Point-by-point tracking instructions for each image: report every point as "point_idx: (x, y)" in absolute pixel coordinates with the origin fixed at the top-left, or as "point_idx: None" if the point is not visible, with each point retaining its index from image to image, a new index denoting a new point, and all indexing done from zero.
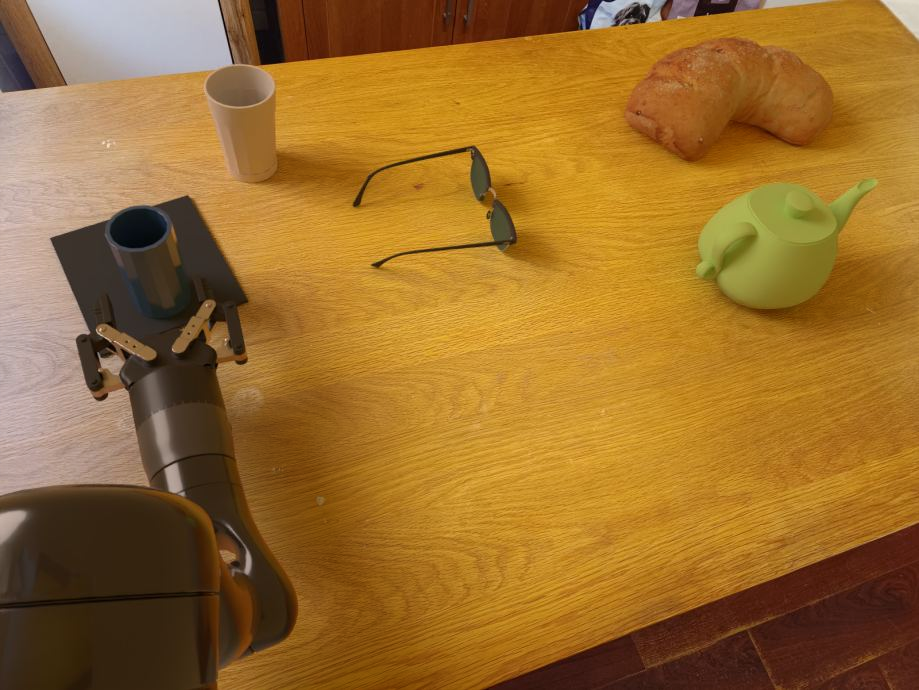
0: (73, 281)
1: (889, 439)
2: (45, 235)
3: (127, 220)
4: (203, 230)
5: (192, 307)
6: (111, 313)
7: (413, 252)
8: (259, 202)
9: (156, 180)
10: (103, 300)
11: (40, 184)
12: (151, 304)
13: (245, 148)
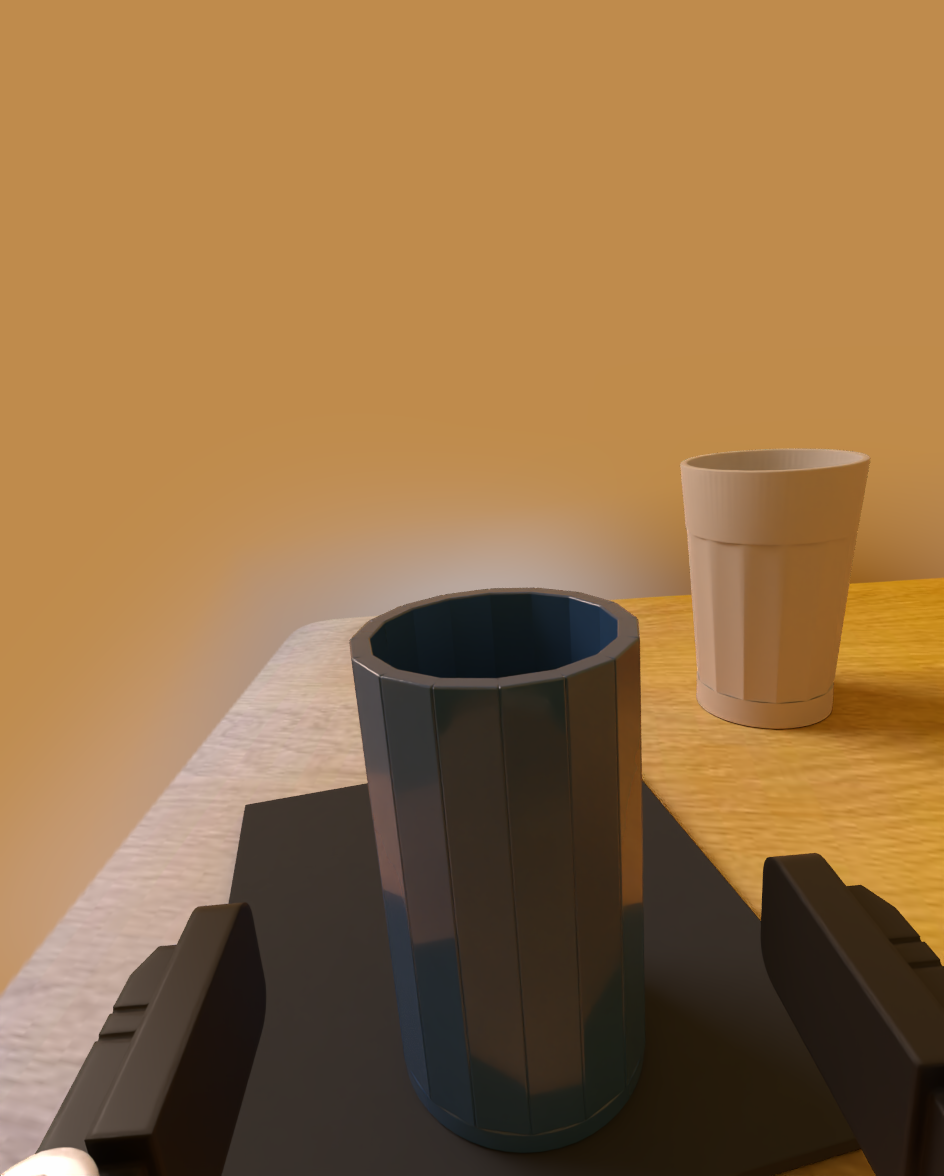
0: None
1: None
2: (241, 802)
3: (452, 644)
4: (661, 819)
5: (651, 1111)
6: (207, 1056)
7: None
8: (813, 768)
9: None
10: (198, 942)
11: (287, 714)
12: (476, 1054)
13: (778, 611)
